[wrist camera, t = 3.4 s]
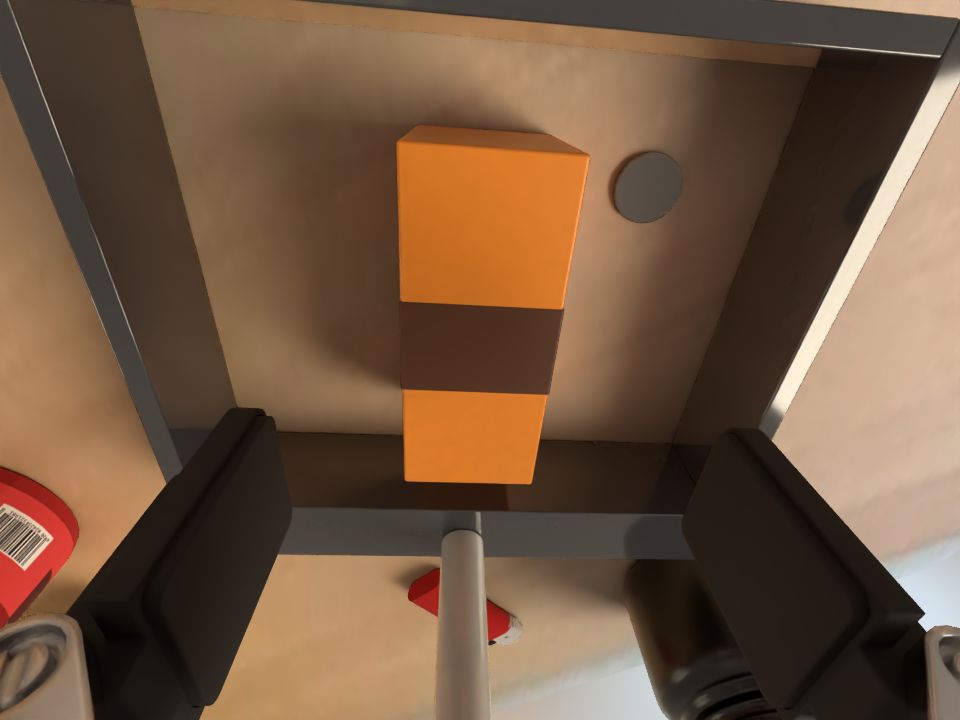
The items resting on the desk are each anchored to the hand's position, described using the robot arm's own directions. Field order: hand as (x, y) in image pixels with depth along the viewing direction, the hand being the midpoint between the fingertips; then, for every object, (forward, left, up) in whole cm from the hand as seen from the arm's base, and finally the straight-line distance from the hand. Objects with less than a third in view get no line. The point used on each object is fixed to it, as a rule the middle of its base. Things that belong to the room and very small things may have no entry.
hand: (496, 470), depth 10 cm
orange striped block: (0, 0, -10) cm, 10 cm away
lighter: (+22, +1, -10) cm, 24 cm away
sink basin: (+1, 0, -10) cm, 10 cm away
